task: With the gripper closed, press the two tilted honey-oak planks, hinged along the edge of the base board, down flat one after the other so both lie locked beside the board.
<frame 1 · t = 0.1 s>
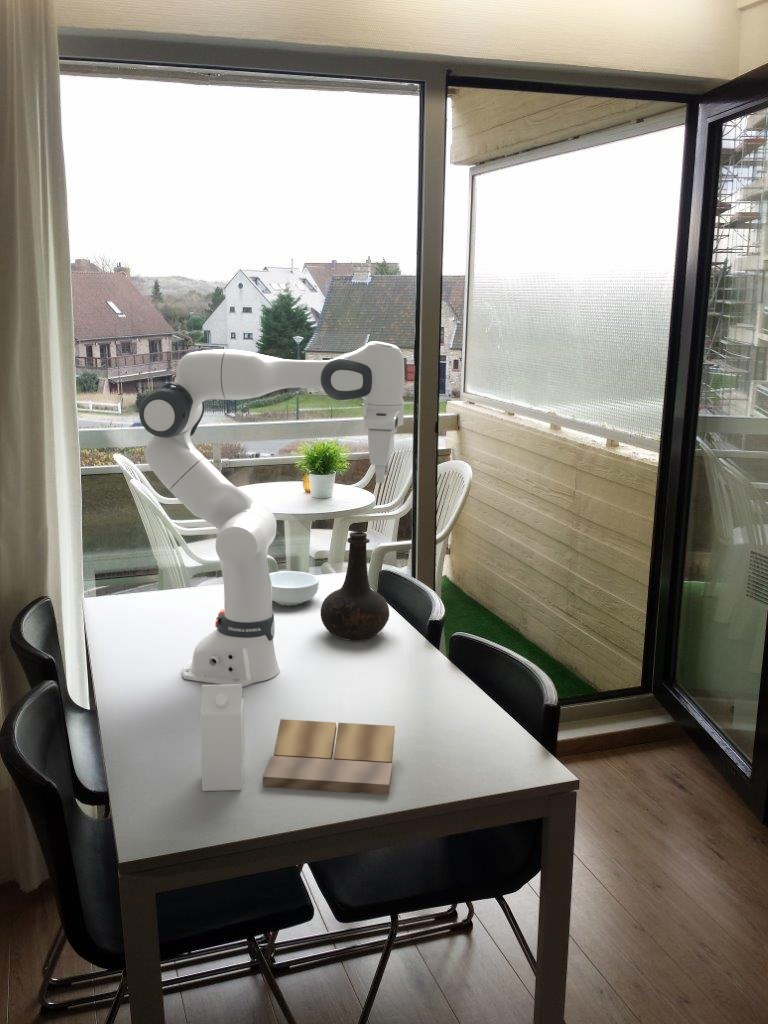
hand: (381, 478, 208), 48 cm above the table, tool pointing down, fingers open, 8 cm apart
base board: (328, 779, 172), on the table
plank b: (364, 744, 180), point 3 cm above the table, hinge at 30.0°
milk carton: (223, 782, 171), on the table
dark brown round bottle: (354, 636, 247), on the table
cereal bowl: (289, 602, 273), on the table
plank a: (305, 741, 180), point 3 cm above the table, hinge at 30.0°
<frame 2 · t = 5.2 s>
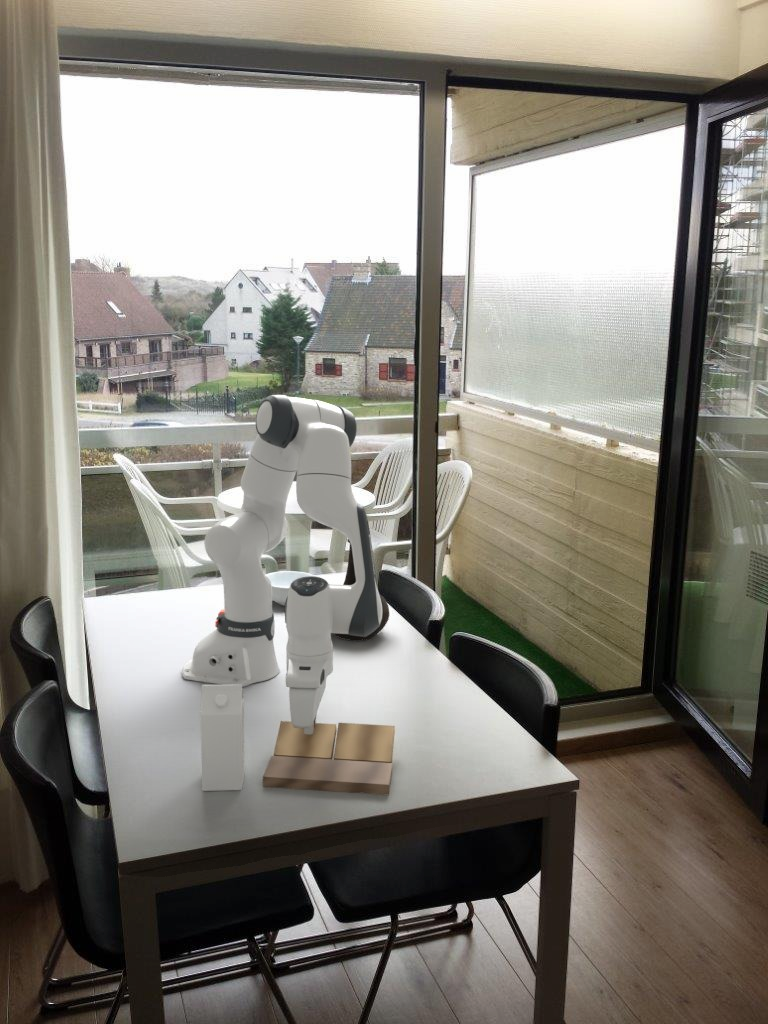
hand: (310, 729, 181), 5 cm above the table, tool pointing down, fingers closed
plank a: (305, 742, 181), point 3 cm above the table, hinge at 25.7°, touching gripper
everything else where it was.
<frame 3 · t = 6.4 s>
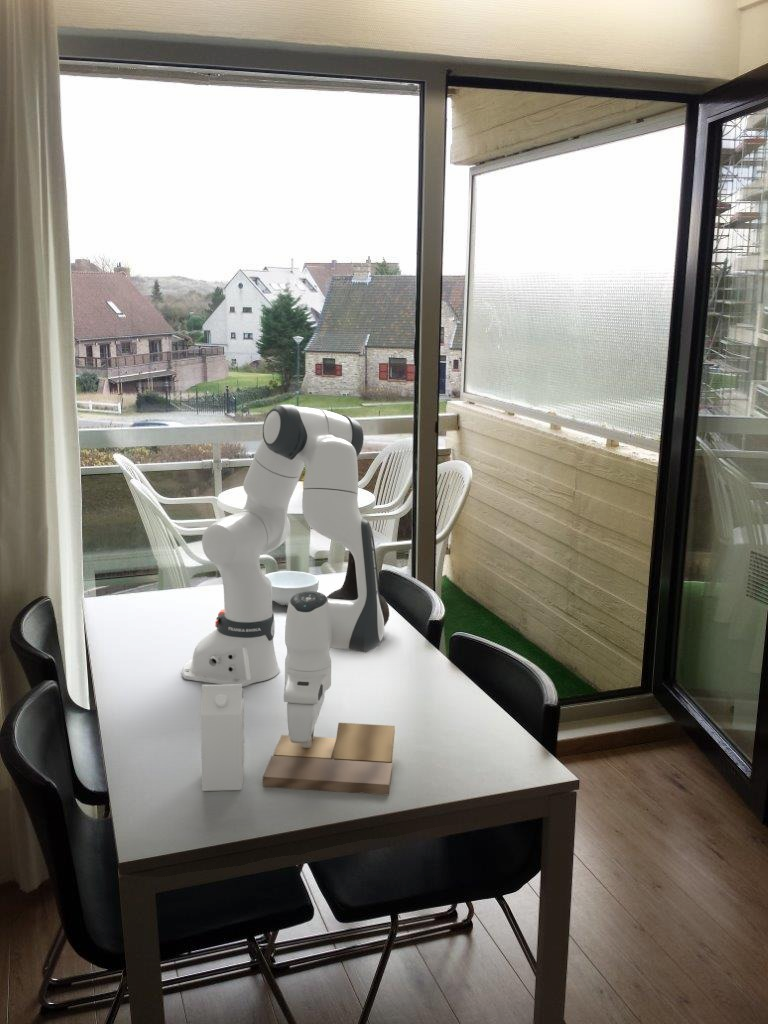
hand: (307, 743, 182), 2 cm above the table, tool pointing down, fingers closed
plank a: (305, 750, 181), point 1 cm above the table, hinge at 0.8°
everything else where it was.
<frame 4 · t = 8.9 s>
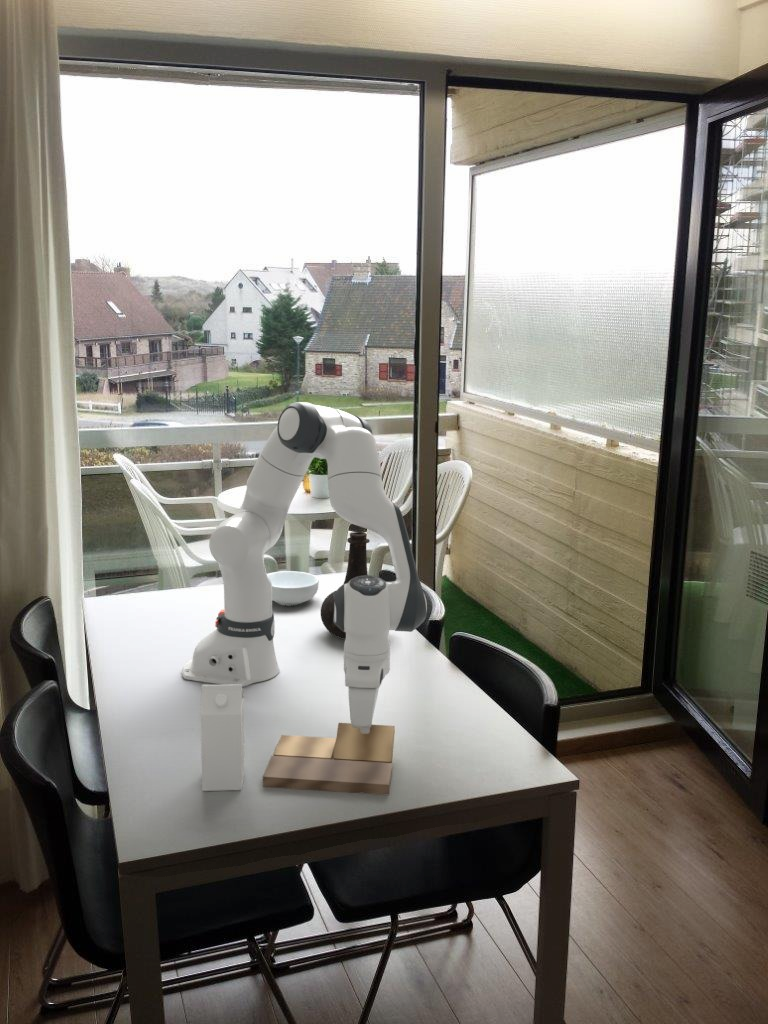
hand: (365, 729, 180), 6 cm above the table, tool pointing down, fingers closed
plank b: (364, 744, 180), point 3 cm above the table, hinge at 29.9°, touching gripper
everything else where it was.
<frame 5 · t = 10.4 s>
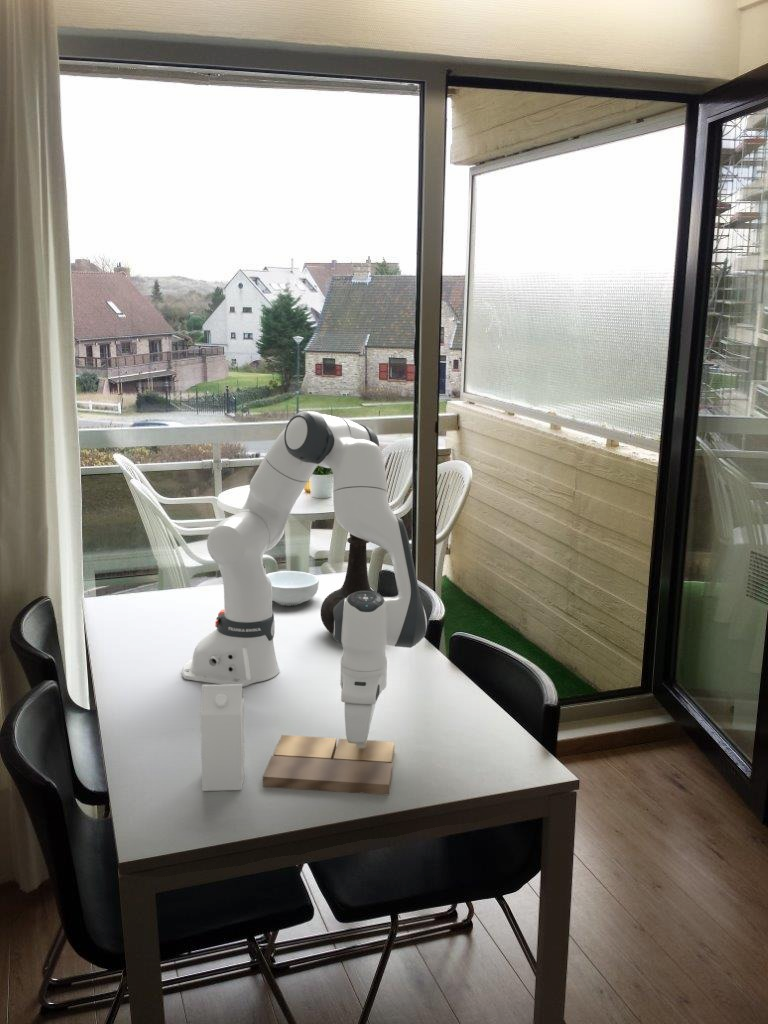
hand: (361, 743, 181), 3 cm above the table, tool pointing down, fingers closed
plank b: (364, 754, 180), point 1 cm above the table, hinge at 0.5°
everything else where it was.
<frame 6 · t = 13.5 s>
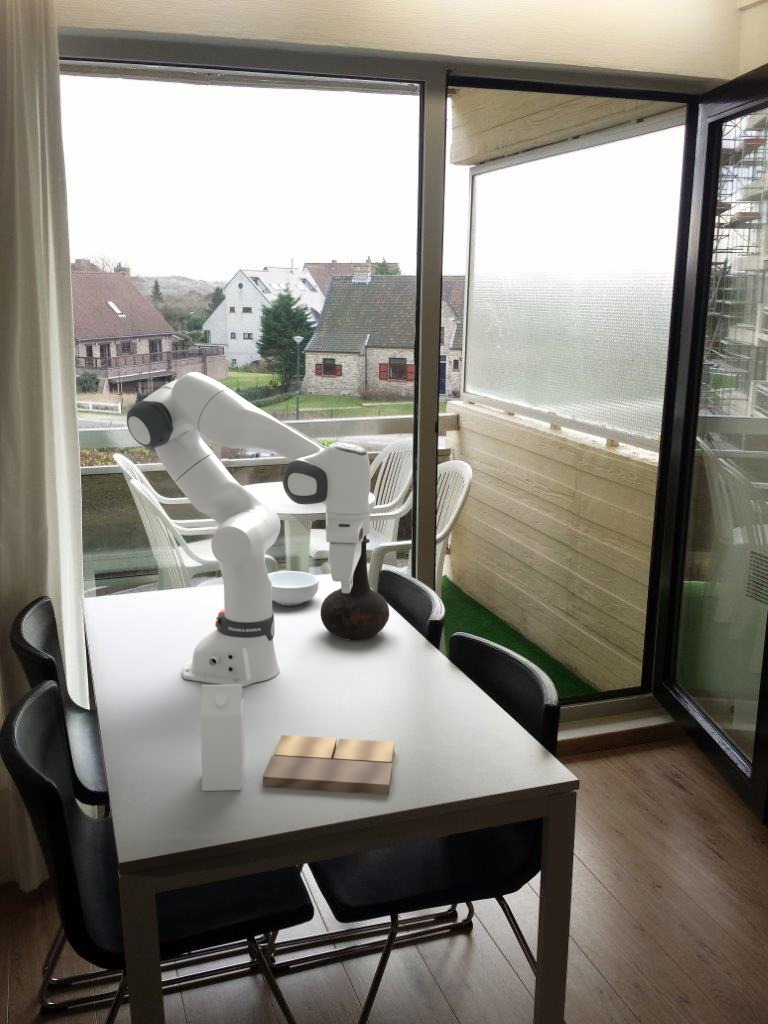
hand: (346, 590, 189), 29 cm above the table, tool pointing down, fingers closed
nothing on the table moved.
at the end: plank a at +1° (first picture: +30°); plank b at +0° (first picture: +30°) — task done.
